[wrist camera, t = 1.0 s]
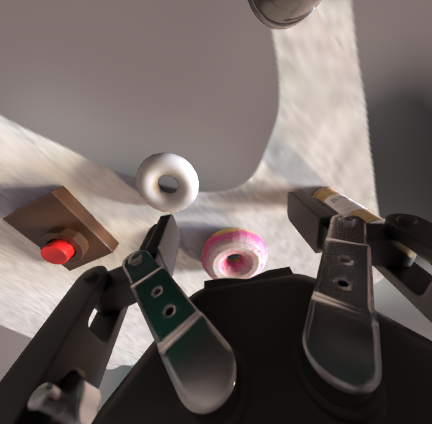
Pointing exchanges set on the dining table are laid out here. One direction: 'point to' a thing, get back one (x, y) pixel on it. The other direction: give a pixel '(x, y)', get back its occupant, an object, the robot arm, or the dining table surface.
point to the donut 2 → (234, 244)
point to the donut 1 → (172, 167)
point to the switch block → (63, 226)
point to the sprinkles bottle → (346, 205)
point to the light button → (57, 251)
